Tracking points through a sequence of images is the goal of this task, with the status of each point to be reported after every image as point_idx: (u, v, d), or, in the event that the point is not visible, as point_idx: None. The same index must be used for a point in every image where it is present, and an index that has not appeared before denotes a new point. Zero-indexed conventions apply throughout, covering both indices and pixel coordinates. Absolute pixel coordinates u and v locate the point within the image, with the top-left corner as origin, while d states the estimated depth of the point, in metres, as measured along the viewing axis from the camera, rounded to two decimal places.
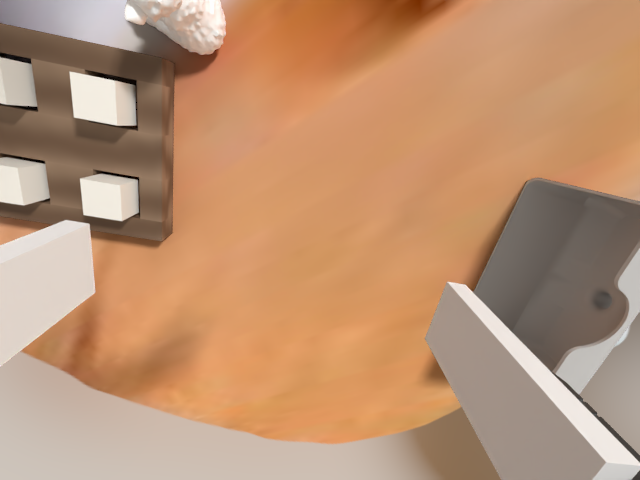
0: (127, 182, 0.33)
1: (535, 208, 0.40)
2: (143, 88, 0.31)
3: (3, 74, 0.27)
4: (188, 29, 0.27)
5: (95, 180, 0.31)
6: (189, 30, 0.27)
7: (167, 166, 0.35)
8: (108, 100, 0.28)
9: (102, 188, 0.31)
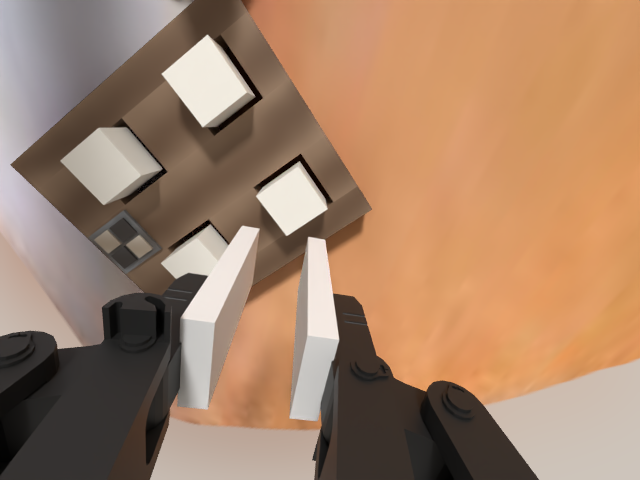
0: (297, 164, 0.24)
1: None
2: (233, 37, 0.22)
3: (115, 144, 0.21)
4: None
5: (270, 185, 0.23)
6: None
7: None
8: (218, 67, 0.20)
9: (283, 187, 0.23)
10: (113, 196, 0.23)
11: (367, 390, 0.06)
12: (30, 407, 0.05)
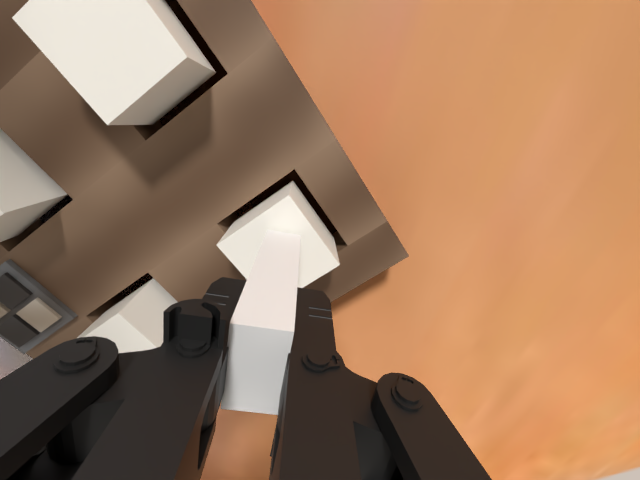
0: (288, 189, 0.14)
1: None
2: None
3: None
4: None
5: (241, 226, 0.13)
6: None
7: None
8: (126, 5, 0.10)
9: (264, 231, 0.13)
10: None
11: (317, 382, 0.06)
12: (98, 411, 0.05)
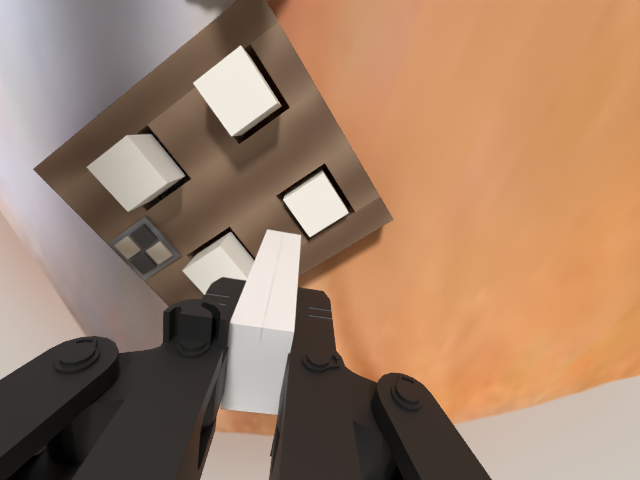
0: (321, 171, 0.26)
1: None
2: (263, 48, 0.22)
3: (142, 152, 0.21)
4: None
5: (296, 190, 0.25)
6: None
7: None
8: (250, 78, 0.20)
9: (309, 192, 0.25)
10: (138, 203, 0.22)
11: (317, 382, 0.06)
12: (98, 411, 0.05)
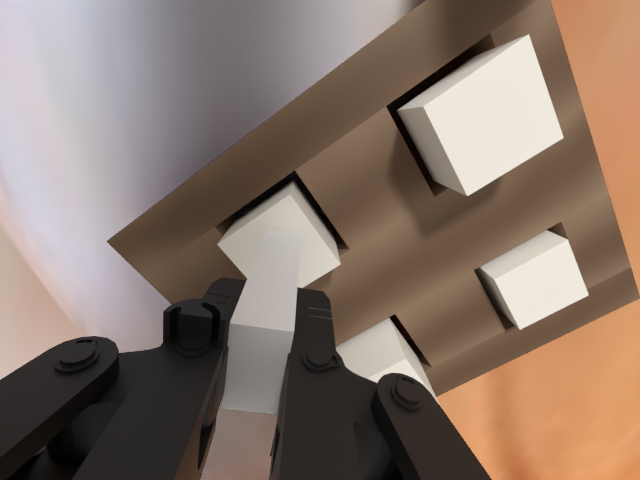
0: None
1: None
2: (510, 39, 0.12)
3: (308, 219, 0.13)
4: None
5: (514, 264, 0.16)
6: None
7: None
8: (529, 95, 0.11)
9: (537, 268, 0.16)
10: None
11: (317, 382, 0.06)
12: (98, 411, 0.05)
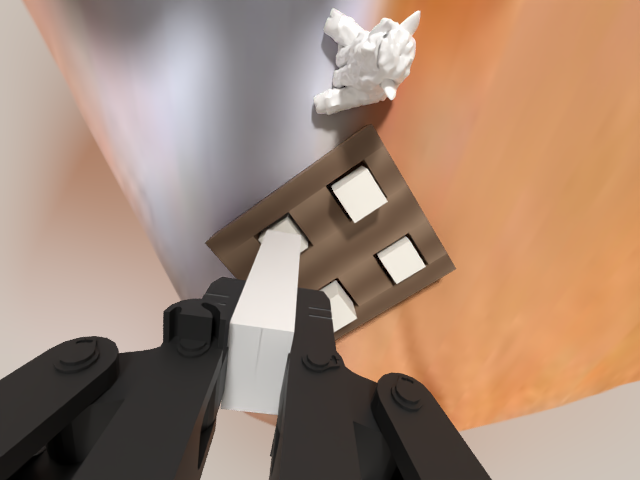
0: (404, 236, 0.36)
1: None
2: (372, 161, 0.32)
3: (294, 229, 0.33)
4: None
5: (389, 251, 0.35)
6: None
7: None
8: (371, 187, 0.30)
9: (398, 253, 0.34)
10: None
11: (317, 382, 0.06)
12: (98, 411, 0.05)
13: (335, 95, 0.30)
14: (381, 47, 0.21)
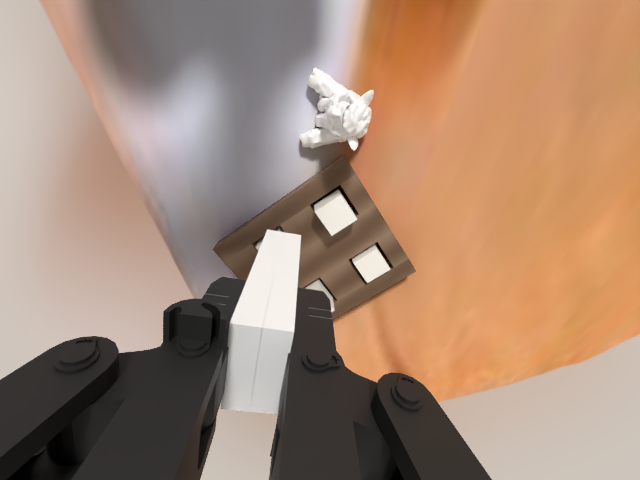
0: (373, 245, 0.44)
1: None
2: (346, 186, 0.40)
3: None
4: None
5: (360, 257, 0.43)
6: None
7: None
8: (344, 208, 0.38)
9: (368, 259, 0.43)
10: None
11: (317, 382, 0.06)
12: (98, 411, 0.05)
13: (316, 135, 0.38)
14: (344, 116, 0.29)
